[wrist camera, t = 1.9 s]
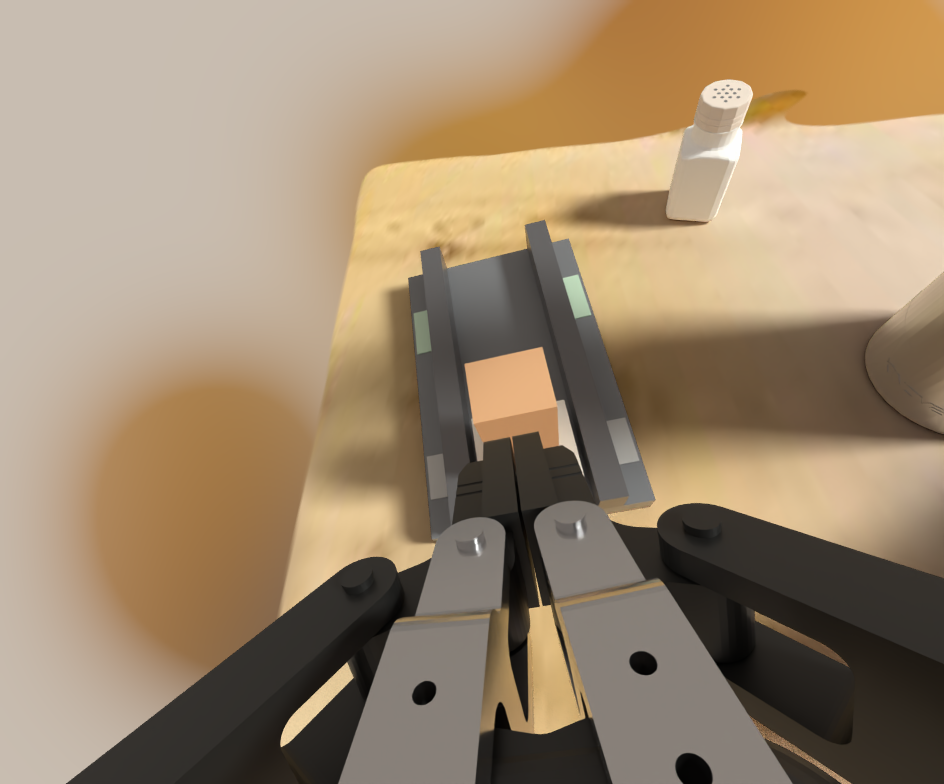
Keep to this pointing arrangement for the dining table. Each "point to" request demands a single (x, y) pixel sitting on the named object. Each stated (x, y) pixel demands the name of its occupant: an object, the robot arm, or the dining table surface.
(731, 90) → the salt shaker
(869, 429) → the dining table surface
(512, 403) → the switch lever
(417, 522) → the dining table surface
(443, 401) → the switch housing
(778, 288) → the dining table surface
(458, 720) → the robot arm
